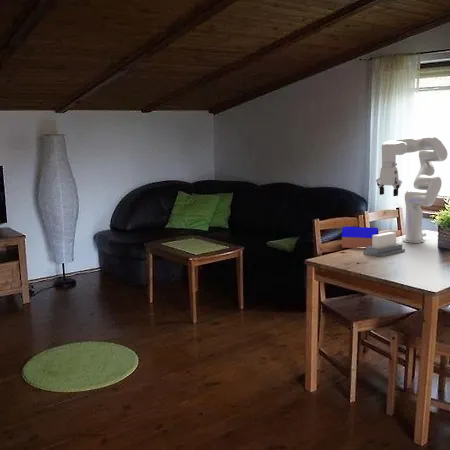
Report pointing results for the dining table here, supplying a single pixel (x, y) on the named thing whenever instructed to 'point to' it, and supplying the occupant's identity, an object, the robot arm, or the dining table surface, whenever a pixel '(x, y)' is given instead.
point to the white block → (383, 240)
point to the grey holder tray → (384, 250)
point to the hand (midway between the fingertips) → (388, 195)
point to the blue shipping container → (357, 236)
